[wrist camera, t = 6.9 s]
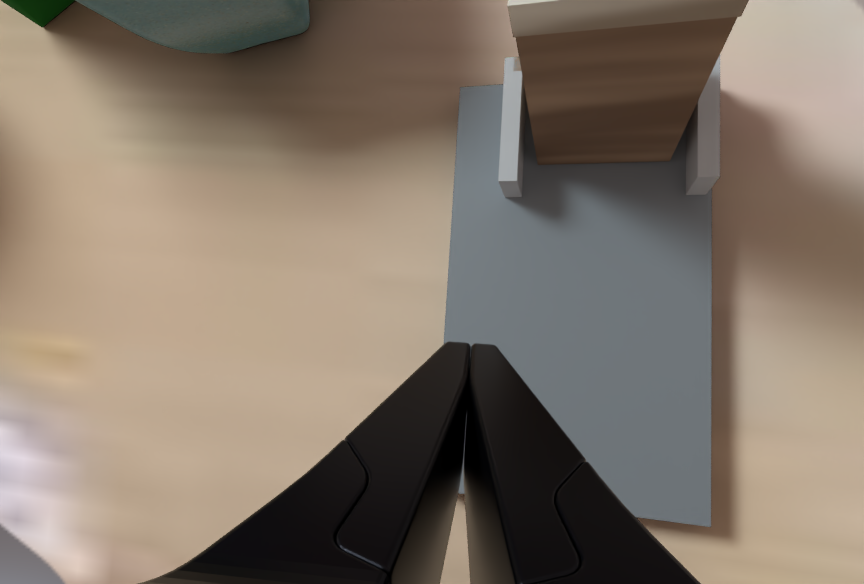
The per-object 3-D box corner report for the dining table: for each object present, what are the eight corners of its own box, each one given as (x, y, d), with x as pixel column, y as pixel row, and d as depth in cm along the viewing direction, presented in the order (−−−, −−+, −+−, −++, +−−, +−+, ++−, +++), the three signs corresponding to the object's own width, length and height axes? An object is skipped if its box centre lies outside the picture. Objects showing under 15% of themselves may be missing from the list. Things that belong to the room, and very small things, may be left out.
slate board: (704, 519, 20) (726, 545, 17) (440, 484, 22) (420, 502, 19) (705, 83, 22) (726, 39, 19) (464, 98, 24) (450, 62, 21)
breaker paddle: (671, 162, 20) (758, -21, 11) (536, 166, 22) (507, 5, 12) (672, 86, 21) (757, -156, 11) (539, 94, 22) (513, -116, 13)
